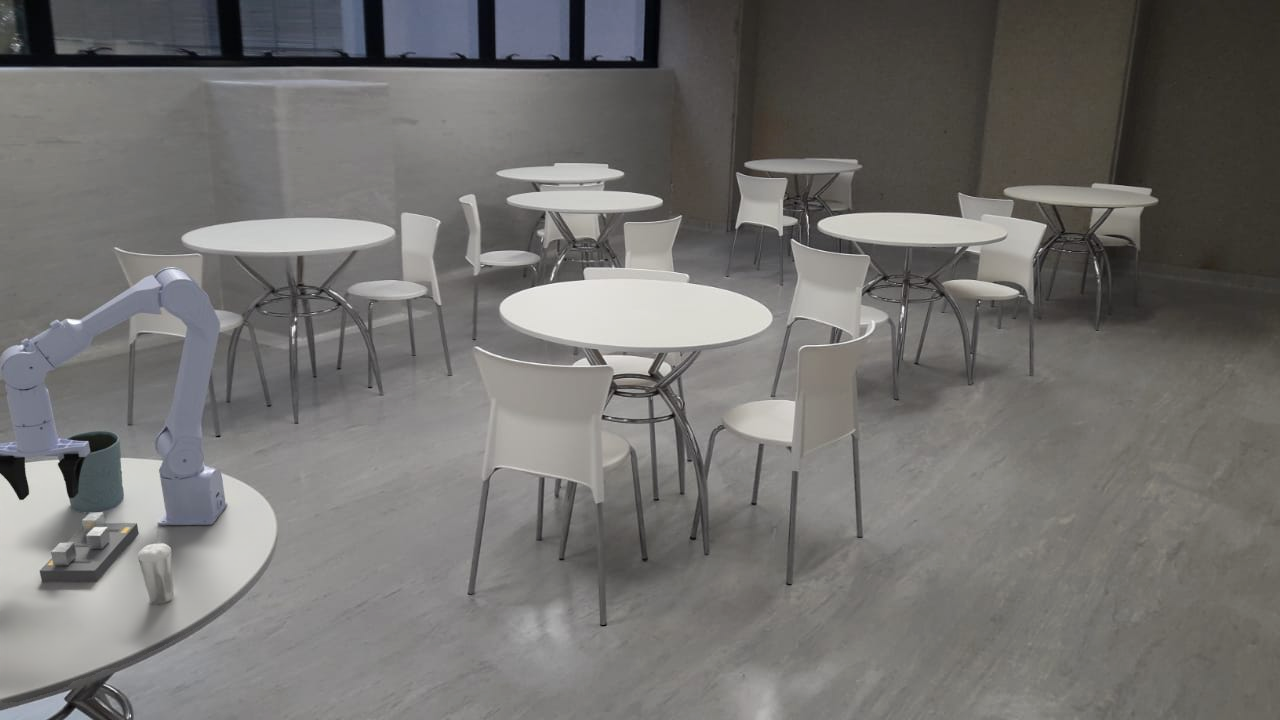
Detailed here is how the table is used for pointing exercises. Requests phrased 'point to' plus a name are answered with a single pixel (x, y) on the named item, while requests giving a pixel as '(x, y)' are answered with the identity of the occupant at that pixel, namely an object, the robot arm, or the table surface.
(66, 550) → the knob
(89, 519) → the knob
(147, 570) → the milkshake
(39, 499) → the table surface
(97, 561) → the switch panel
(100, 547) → the knob
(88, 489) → the teal plant pot
